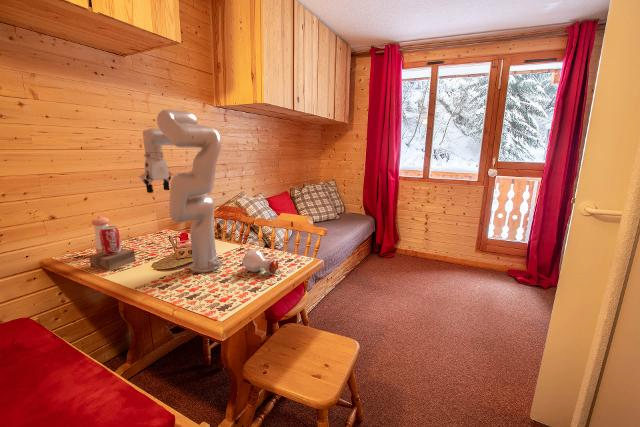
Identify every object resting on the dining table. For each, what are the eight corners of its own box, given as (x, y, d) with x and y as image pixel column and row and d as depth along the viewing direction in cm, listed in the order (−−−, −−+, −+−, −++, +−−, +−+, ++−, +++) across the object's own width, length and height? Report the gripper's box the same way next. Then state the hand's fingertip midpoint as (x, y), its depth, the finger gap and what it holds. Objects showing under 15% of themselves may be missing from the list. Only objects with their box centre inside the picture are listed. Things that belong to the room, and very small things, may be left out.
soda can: (125, 250, 137) (121, 225, 134) (113, 256, 130) (109, 229, 127) (111, 250, 137) (107, 225, 135) (98, 255, 131) (94, 229, 128)
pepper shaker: (99, 257, 143) (93, 218, 139) (94, 254, 147) (87, 216, 143) (117, 253, 149) (111, 215, 144) (111, 250, 153) (105, 213, 149)
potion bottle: (246, 270, 130) (275, 280, 125) (234, 265, 122) (265, 275, 116) (254, 251, 133) (283, 259, 128) (243, 244, 124) (274, 253, 119)
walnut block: (135, 260, 138) (134, 250, 137) (109, 270, 127) (108, 259, 126) (117, 257, 142) (115, 247, 141) (91, 266, 131) (89, 256, 130)
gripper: (144, 156, 134) (149, 194, 138) (174, 155, 150) (178, 189, 154) (132, 156, 137) (137, 193, 141) (163, 155, 153) (167, 188, 157)
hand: (158, 191), depth 147 cm, fingers open, 9 cm apart
